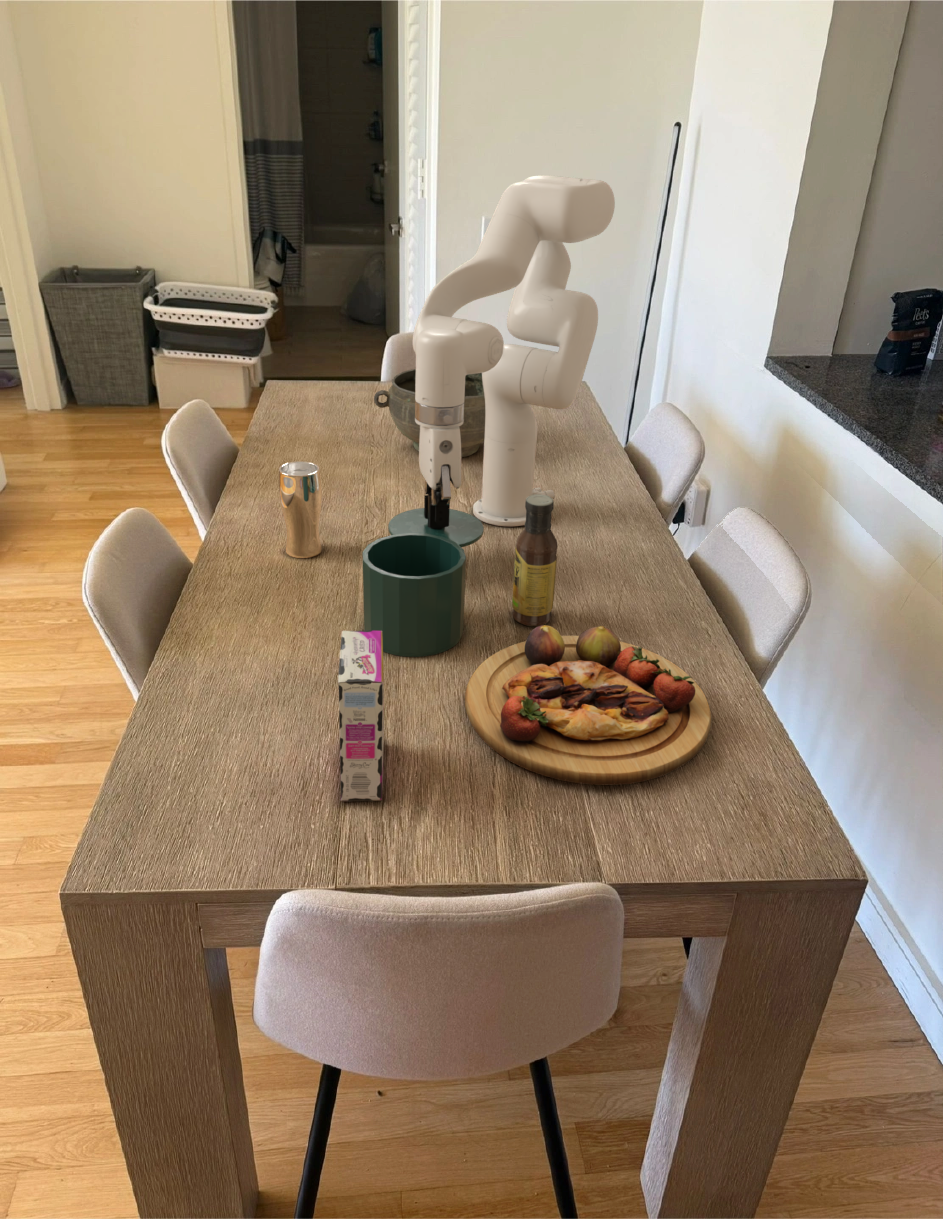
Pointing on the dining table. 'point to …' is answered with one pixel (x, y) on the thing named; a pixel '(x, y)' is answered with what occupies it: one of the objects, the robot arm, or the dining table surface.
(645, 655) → the wooden plate
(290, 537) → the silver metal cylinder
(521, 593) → the sauce bottle
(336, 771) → the dining table surface
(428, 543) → the tin
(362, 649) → the candy bar box
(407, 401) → the bowl
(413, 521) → the tin lid
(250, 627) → the dining table surface
